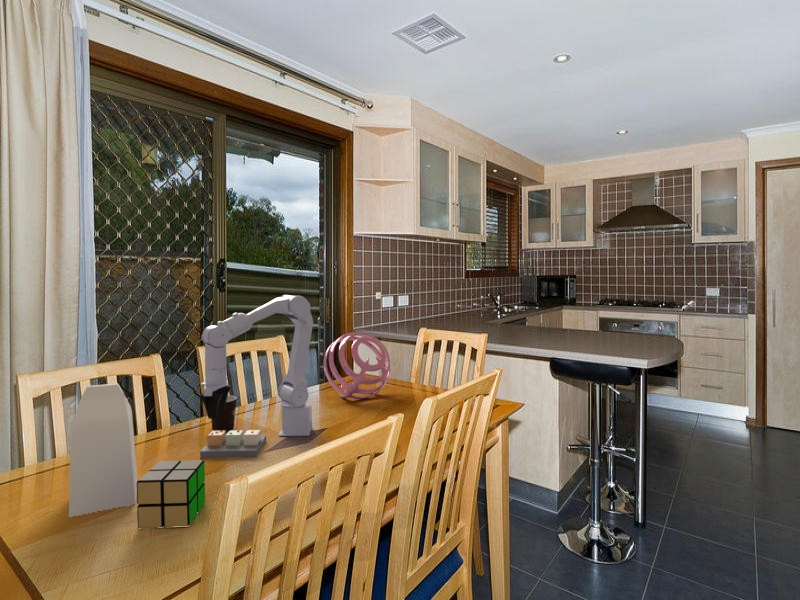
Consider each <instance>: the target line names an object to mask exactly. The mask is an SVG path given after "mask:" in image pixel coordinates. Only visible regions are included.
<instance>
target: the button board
mask: <svg viewBox="0 0 800 600" xmlns="http://www.w3.org/2000/svg"><path fill="white" fill-rule="evenodd" d="M266 443H267V434H261V442H260V443H259V445H250V446H244V434H243V443H242V444H241V445H240V446H226V442H225V443H224V445H223V446H208V442H207V443H206V444H205V445H204V447H203V448H202V449H201V450H200V451H199V455H200V456H199V458H200V459H236V458H237V459H239V458H243V459H244V458H247V459H248V458H251V459H252V458H257V457H258V455H260V452H261V451H262V449H263V447H264V446H265V444H266Z"/></svg>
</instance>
